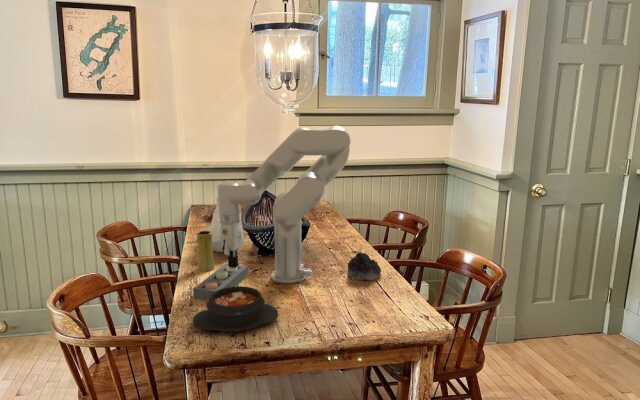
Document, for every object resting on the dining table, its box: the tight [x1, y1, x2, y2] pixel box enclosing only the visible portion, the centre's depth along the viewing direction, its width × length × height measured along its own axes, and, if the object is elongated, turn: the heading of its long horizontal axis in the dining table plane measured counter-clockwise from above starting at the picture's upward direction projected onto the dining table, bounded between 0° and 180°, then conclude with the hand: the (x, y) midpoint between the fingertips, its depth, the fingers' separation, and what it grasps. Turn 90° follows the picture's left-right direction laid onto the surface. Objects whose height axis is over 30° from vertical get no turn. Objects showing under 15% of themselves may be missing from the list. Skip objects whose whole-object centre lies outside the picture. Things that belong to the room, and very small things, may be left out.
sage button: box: [216, 271, 228, 280], centre depth 175 cm, size 4×4×3 cm
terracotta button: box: [205, 282, 218, 289], centre depth 167 cm, size 4×4×3 cm
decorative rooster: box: [204, 200, 224, 253], centre depth 214 cm, size 25×16×25 cm
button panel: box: [192, 263, 249, 302], centre depth 175 cm, size 9×24×4 cm, turn 165°
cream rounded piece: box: [226, 266, 237, 272], centre depth 182 cm, size 4×4×3 cm
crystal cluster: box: [347, 252, 382, 281], centre depth 186 cm, size 13×14×10 cm
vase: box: [196, 230, 215, 272], centre depth 190 cm, size 6×6×14 cm
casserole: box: [192, 285, 279, 333], centre depth 149 cm, size 25×19×8 cm
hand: (233, 266), depth 182 cm, fingers closed
